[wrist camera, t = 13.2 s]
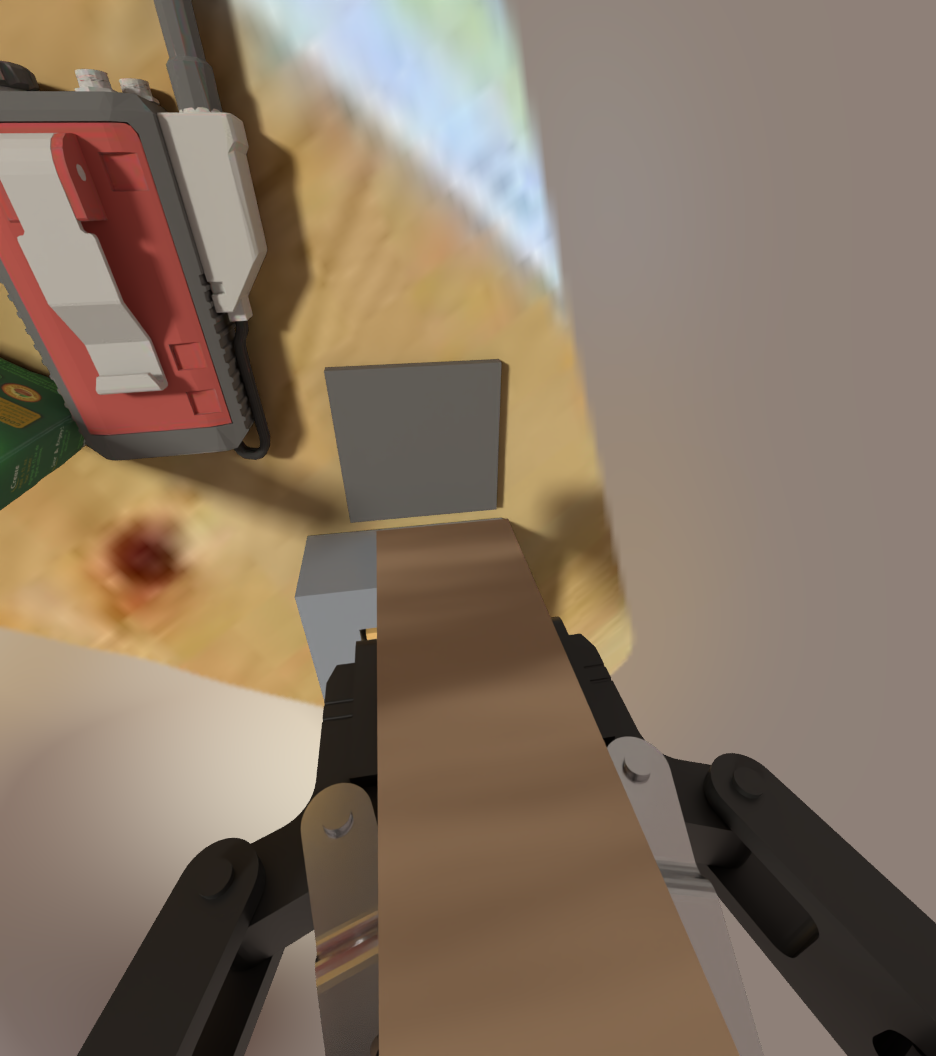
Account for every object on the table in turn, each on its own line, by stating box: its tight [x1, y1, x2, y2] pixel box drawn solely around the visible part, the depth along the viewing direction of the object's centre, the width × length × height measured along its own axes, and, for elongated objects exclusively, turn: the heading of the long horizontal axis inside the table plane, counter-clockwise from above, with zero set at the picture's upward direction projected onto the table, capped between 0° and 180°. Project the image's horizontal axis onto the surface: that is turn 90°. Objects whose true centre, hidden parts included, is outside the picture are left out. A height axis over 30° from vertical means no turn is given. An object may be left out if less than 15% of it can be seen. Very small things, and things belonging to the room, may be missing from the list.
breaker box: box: [295, 518, 502, 701], centre depth 28 cm, size 11×11×5 cm
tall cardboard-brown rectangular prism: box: [376, 519, 740, 1056], centre depth 10 cm, size 4×4×12 cm
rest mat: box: [324, 359, 501, 523], centre depth 24 cm, size 8×8×1 cm
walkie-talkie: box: [0, 0, 270, 460], centre depth 15 cm, size 9×4×20 cm
